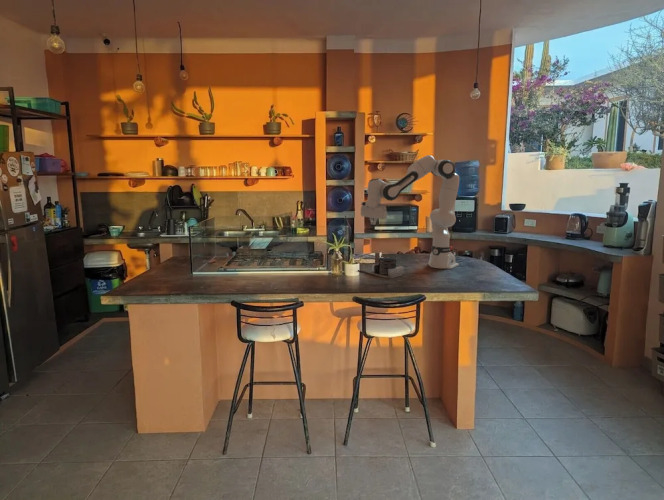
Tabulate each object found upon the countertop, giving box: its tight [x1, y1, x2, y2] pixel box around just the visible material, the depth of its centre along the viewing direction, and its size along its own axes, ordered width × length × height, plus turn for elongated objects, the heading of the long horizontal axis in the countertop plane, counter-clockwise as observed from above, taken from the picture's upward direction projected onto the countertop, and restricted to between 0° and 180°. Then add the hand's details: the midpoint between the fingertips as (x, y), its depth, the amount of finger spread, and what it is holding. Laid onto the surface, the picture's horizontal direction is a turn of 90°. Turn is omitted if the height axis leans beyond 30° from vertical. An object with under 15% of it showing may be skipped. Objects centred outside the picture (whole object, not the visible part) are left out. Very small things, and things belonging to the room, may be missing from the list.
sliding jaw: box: [371, 252, 380, 274], centre depth 286 cm, size 12×4×12 cm, turn 133°
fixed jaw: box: [359, 265, 405, 279], centre depth 285 cm, size 16×26×6 cm, turn 43°
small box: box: [378, 257, 397, 277], centre depth 281 cm, size 11×6×10 cm, turn 85°
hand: (373, 224), depth 295 cm, fingers closed
